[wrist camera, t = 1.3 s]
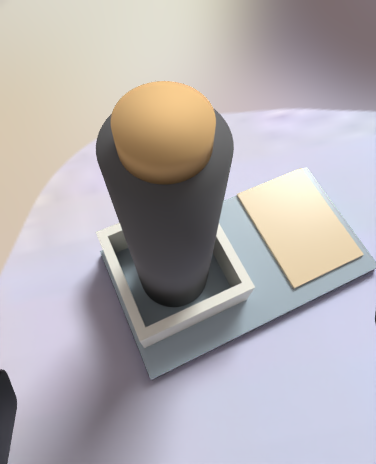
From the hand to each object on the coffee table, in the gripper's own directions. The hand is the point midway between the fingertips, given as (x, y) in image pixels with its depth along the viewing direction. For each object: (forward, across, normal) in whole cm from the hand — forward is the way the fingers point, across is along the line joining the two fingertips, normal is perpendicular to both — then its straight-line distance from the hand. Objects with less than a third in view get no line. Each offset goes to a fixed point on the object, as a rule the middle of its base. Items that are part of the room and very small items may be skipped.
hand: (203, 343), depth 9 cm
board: (+13, -4, +4) cm, 14 cm away
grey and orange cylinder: (+12, 0, +4) cm, 13 cm away
